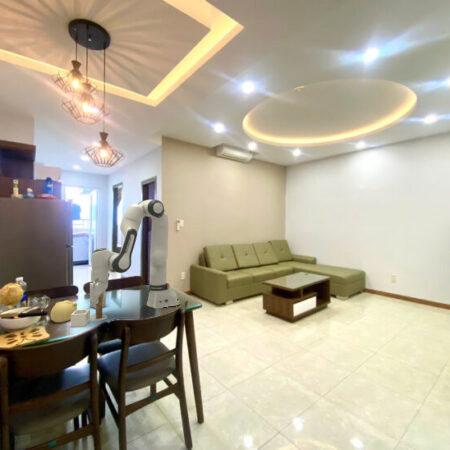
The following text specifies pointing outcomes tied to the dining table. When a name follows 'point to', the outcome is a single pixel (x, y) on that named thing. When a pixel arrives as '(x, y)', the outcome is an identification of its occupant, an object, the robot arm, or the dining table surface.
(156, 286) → the robot arm
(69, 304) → the pale yellow rounded lump
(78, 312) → the pen cup
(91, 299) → the skincare box
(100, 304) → the dowel
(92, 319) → the coaster
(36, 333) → the dining table surface
